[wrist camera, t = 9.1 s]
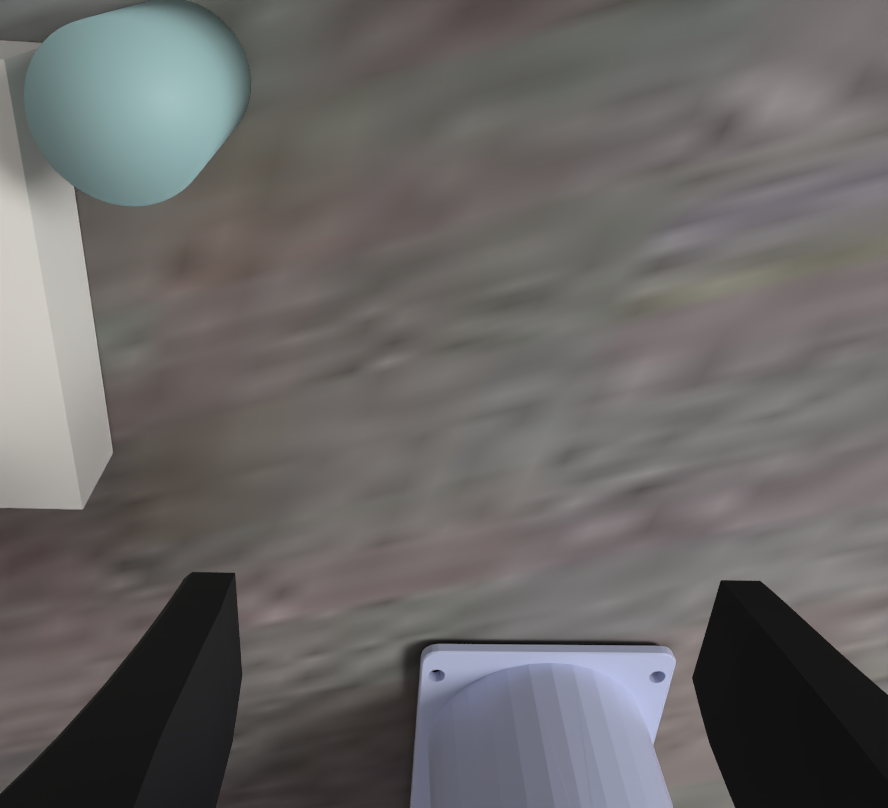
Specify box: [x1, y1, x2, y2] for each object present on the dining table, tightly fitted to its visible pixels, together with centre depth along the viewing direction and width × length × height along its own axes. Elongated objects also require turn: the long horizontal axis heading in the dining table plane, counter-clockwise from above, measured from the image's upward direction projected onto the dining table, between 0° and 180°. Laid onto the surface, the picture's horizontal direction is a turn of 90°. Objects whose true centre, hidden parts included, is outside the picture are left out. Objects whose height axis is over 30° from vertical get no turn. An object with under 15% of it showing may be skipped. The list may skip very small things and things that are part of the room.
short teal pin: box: [24, 0, 251, 206], centre depth 16 cm, size 3×3×4 cm
